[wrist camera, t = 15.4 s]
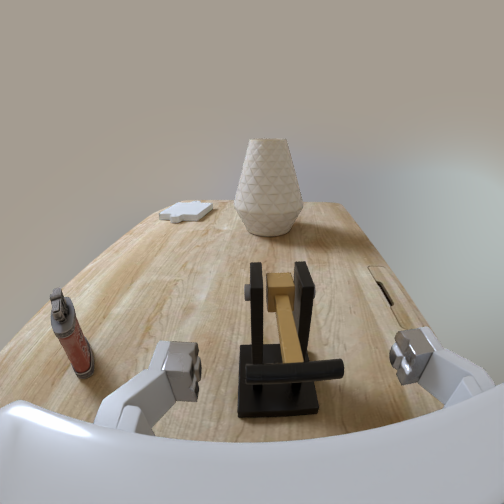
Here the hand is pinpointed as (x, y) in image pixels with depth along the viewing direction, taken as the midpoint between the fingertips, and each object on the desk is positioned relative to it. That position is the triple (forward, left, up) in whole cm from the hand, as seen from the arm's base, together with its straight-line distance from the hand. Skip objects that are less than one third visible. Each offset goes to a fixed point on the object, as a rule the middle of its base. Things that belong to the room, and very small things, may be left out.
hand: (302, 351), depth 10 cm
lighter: (+28, +4, -17) cm, 34 cm away
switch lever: (+5, -7, -6) cm, 10 cm away
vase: (+35, -50, -17) cm, 64 cm away
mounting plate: (+65, -48, -17) cm, 82 cm away
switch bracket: (+7, -10, -17) cm, 22 cm away
